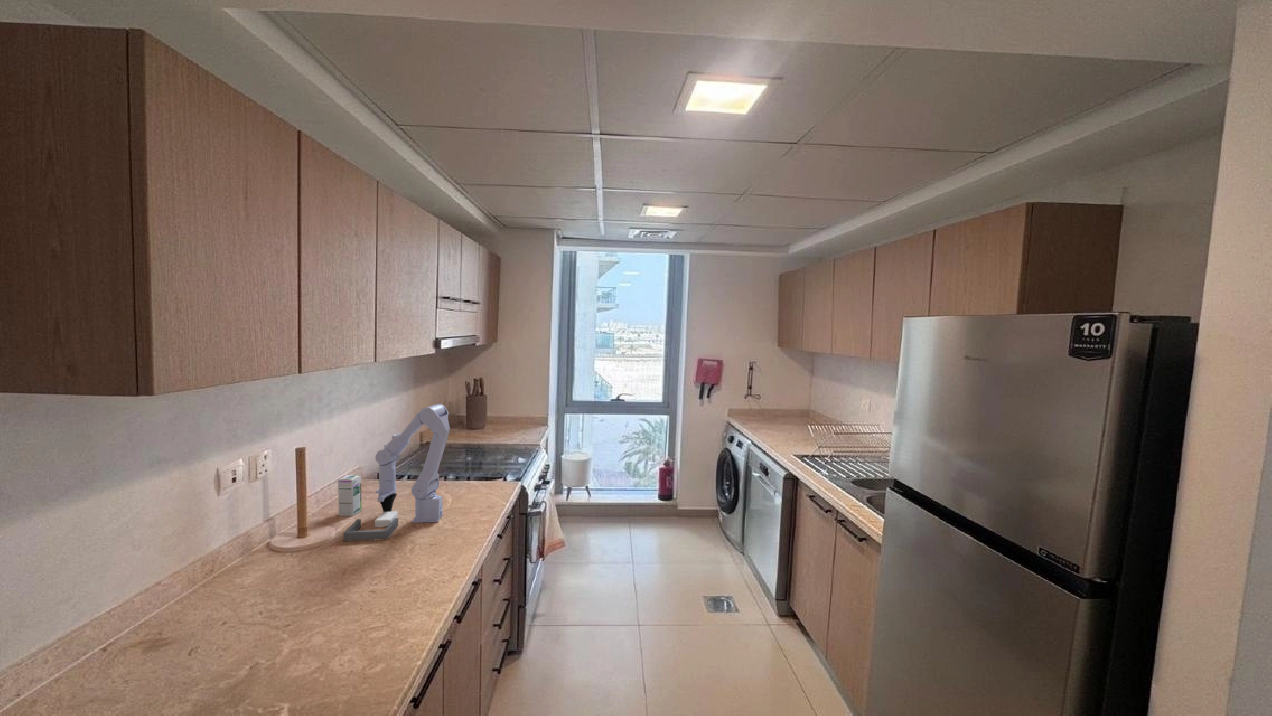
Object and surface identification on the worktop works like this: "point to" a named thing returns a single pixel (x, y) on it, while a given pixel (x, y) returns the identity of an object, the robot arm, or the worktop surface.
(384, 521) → the soap
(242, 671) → the worktop surface
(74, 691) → the worktop surface
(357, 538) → the box
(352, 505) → the syrup box
